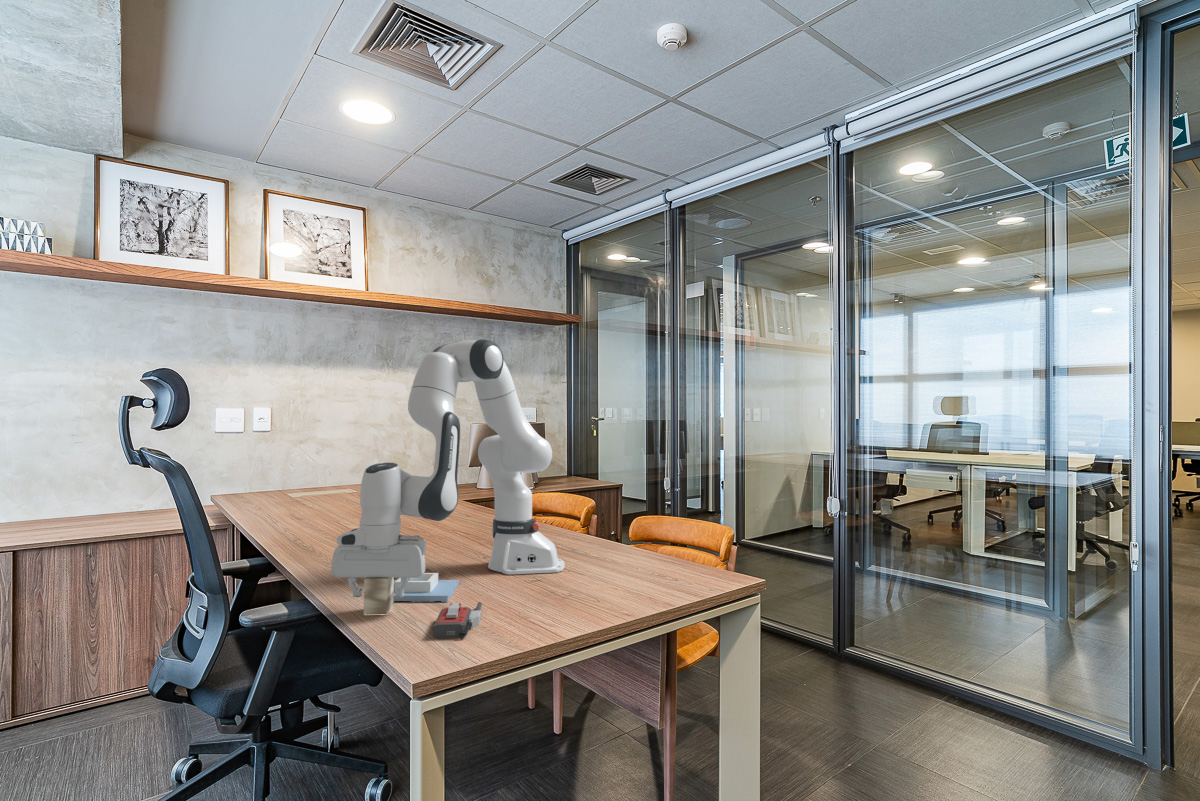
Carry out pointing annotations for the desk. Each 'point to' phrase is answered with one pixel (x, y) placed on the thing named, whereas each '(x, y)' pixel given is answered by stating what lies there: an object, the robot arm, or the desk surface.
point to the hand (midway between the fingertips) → (378, 596)
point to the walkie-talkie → (456, 621)
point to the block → (378, 595)
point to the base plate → (426, 588)
